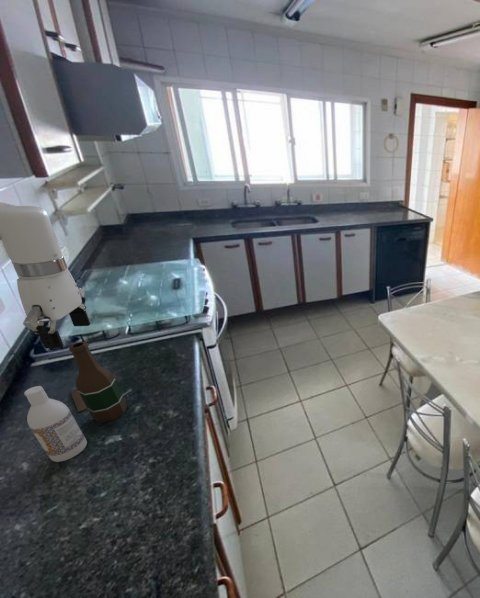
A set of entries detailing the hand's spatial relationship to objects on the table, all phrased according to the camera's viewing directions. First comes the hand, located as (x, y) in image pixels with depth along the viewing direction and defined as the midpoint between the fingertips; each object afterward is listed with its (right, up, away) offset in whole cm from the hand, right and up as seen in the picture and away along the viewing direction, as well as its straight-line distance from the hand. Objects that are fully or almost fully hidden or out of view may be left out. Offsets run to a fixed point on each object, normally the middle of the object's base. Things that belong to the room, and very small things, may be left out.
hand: (69, 335), depth 77 cm
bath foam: (-7, -30, +7) cm, 32 cm away
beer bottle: (-6, -25, +18) cm, 32 cm away
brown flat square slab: (-16, -21, +26) cm, 37 cm away
